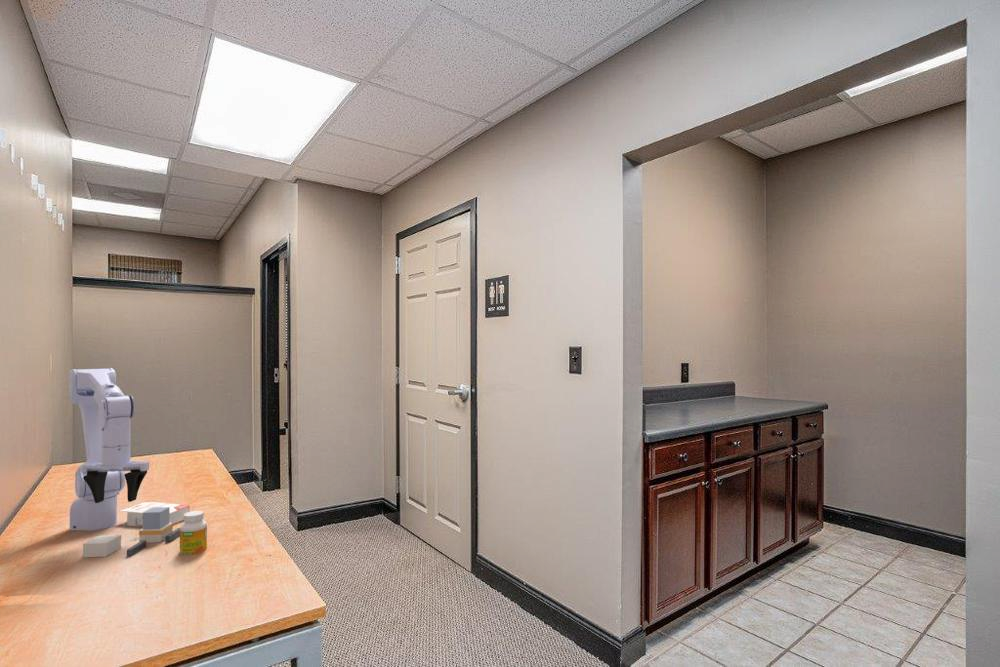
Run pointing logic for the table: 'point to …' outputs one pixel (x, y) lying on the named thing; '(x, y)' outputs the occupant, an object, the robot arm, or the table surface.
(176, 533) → the panel
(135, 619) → the table surface
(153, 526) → the gray cube
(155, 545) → the table surface
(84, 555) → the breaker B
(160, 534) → the block
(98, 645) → the table surface
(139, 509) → the ink cartridge box
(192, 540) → the supplement bottle
